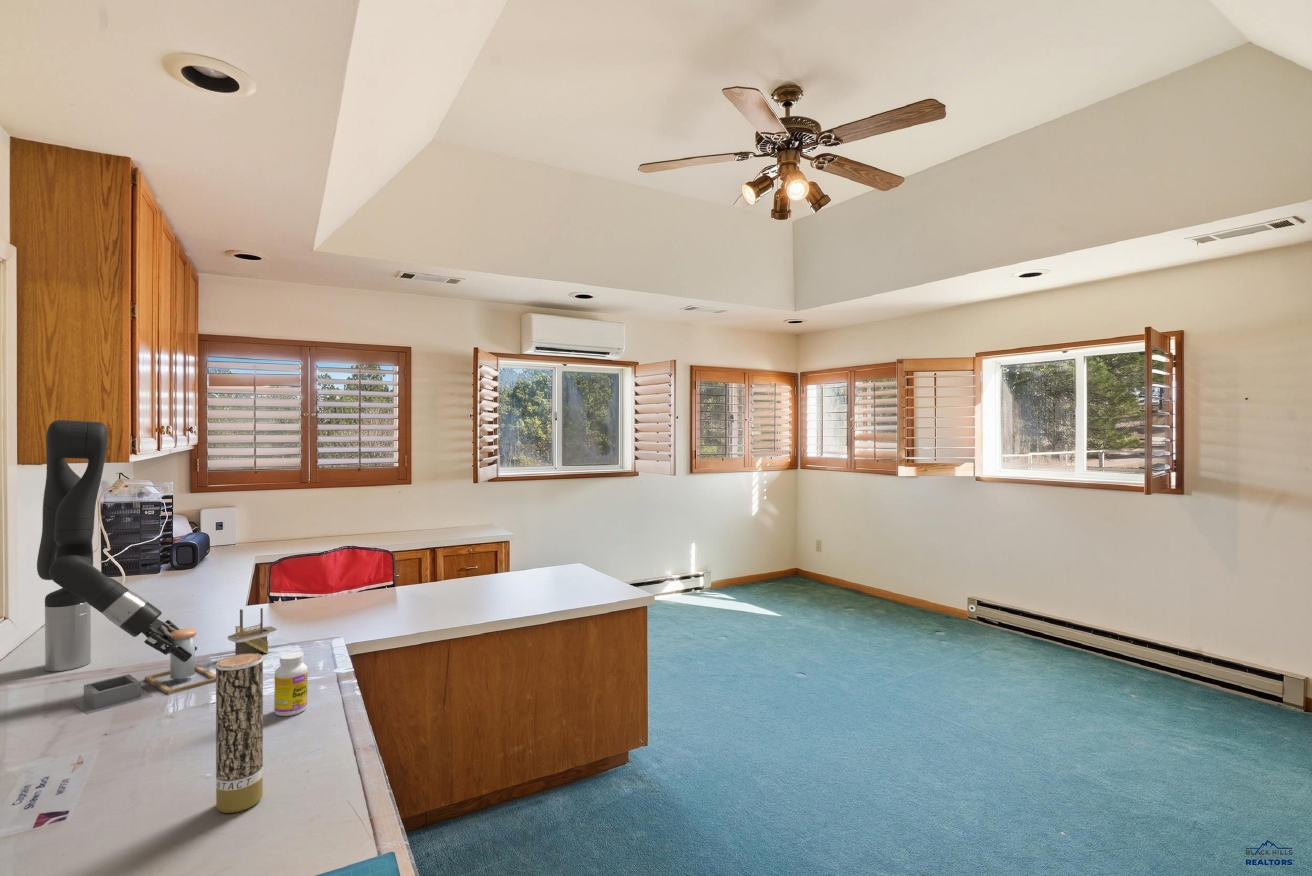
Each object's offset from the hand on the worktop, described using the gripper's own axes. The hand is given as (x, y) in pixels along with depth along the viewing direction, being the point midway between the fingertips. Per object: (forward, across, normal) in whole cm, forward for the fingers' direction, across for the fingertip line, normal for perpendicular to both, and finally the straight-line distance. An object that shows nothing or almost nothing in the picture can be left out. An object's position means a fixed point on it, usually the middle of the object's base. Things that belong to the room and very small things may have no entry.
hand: (191, 655), depth 162 cm
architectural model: (+14, +18, -2) cm, 23 cm away
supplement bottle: (+23, -27, -12) cm, 38 cm away
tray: (+4, 0, +7) cm, 8 cm away
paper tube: (+20, -66, -8) cm, 69 cm away
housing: (-4, -7, +15) cm, 17 cm away
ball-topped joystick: (+2, 0, +5) cm, 5 cm away
